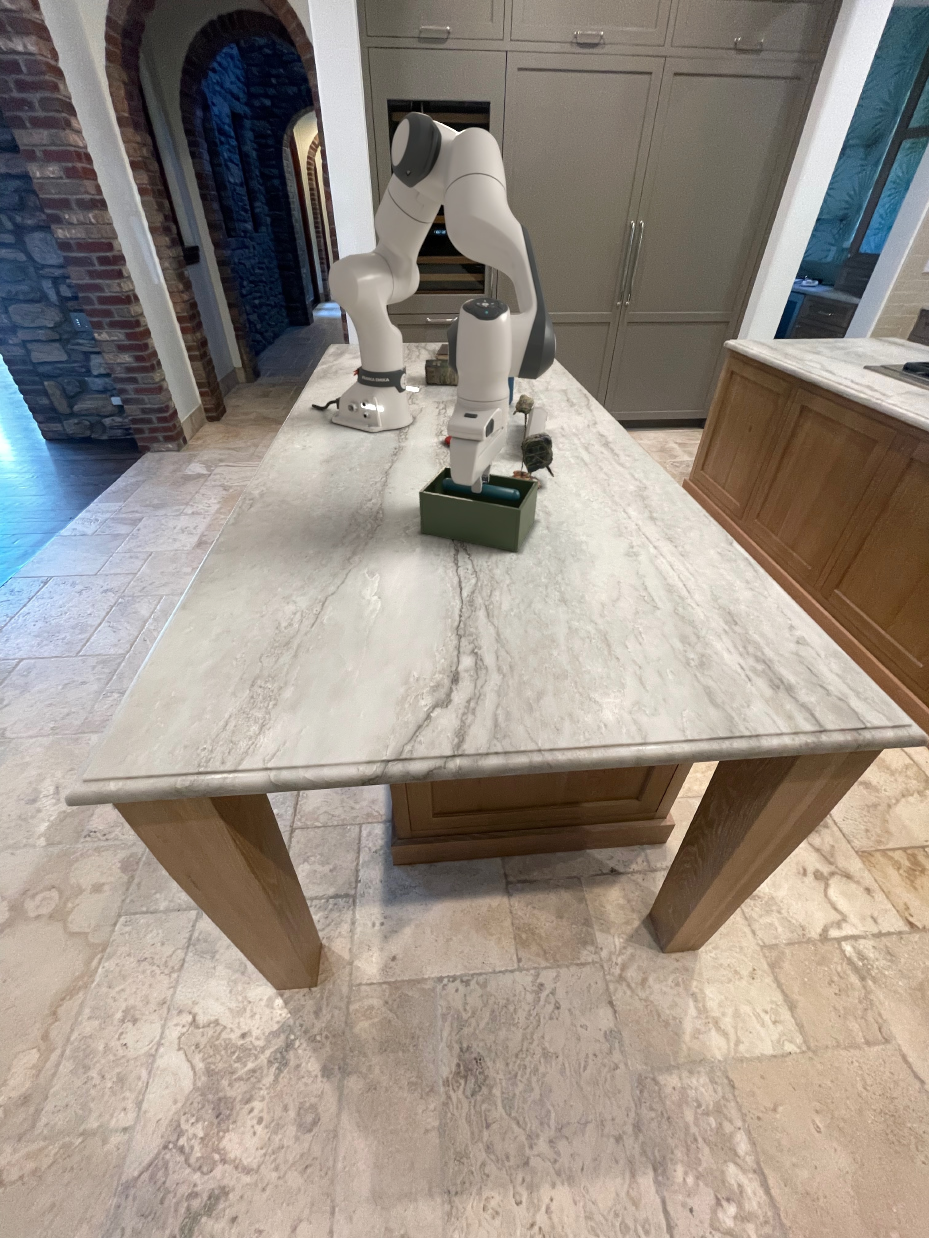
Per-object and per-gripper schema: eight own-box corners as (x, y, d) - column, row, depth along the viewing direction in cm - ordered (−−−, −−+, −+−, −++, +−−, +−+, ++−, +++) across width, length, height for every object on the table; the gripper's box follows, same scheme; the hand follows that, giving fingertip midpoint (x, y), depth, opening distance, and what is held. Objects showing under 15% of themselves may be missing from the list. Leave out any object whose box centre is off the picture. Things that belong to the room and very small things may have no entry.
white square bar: (546, 447, 125) (550, 410, 144) (525, 438, 125) (532, 403, 144) (536, 466, 129) (542, 428, 148) (516, 458, 128) (524, 421, 147)
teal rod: (440, 491, 101) (440, 480, 100) (444, 485, 103) (444, 475, 101) (517, 504, 97) (518, 493, 96) (521, 499, 99) (521, 488, 97)
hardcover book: (498, 362, 197) (498, 355, 196) (436, 360, 199) (436, 353, 197) (500, 351, 209) (500, 345, 208) (442, 349, 211) (442, 343, 210)
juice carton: (485, 377, 182) (485, 357, 178) (486, 386, 175) (487, 366, 171) (426, 377, 182) (425, 358, 178) (425, 386, 175) (424, 366, 171)
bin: (420, 532, 102) (418, 491, 97) (444, 504, 111) (444, 465, 106) (517, 552, 97) (520, 510, 92) (534, 521, 106) (538, 481, 101)
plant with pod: (551, 496, 115) (563, 400, 102) (498, 491, 116) (504, 396, 103) (553, 480, 121) (565, 387, 108) (504, 475, 122) (509, 383, 110)
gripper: (484, 391, 99) (482, 463, 107) (442, 429, 84) (444, 508, 93) (517, 395, 97) (512, 468, 106) (480, 434, 82) (478, 515, 91)
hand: (480, 487), depth 99 cm, fingers closed on teal rod, 2 cm apart
